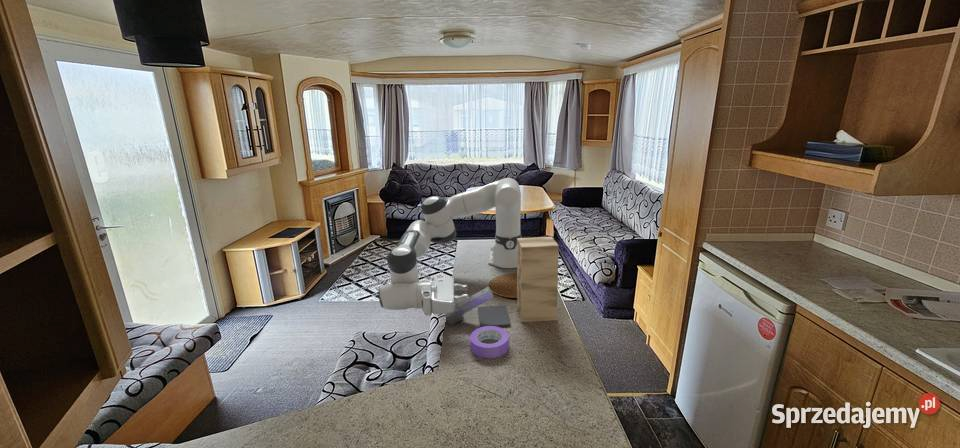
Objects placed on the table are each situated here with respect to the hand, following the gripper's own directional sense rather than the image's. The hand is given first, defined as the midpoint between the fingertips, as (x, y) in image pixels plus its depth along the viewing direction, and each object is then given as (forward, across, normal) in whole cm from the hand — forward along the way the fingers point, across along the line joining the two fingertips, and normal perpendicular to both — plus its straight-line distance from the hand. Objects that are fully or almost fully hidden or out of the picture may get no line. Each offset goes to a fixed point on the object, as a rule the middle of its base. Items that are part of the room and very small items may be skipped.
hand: (467, 292), depth 132 cm
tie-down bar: (0, 0, -3) cm, 3 cm away
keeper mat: (+9, 0, -10) cm, 13 cm away
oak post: (+24, 0, -10) cm, 26 cm away
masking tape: (+6, +17, -10) cm, 21 cm away
